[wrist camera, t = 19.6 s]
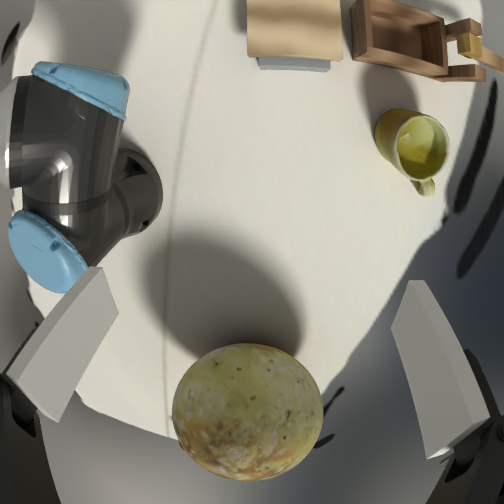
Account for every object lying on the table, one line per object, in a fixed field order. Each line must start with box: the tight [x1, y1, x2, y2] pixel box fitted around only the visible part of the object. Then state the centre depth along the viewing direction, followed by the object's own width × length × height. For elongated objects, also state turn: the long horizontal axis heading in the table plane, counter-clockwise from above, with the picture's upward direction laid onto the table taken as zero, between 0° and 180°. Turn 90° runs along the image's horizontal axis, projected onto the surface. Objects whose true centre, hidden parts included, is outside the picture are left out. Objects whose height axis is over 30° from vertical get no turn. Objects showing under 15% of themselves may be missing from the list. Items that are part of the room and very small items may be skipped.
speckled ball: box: [172, 343, 323, 481], centre depth 48 cm, size 30×30×30 cm
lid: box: [247, 0, 343, 62], centre depth 23 cm, size 12×11×3 cm
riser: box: [258, 57, 330, 72], centre depth 26 cm, size 9×14×4 cm, turn 1°
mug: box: [375, 109, 449, 196], centre depth 32 cm, size 12×10×10 cm
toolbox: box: [350, 0, 486, 82], centre depth 21 cm, size 16×9×12 cm, turn 91°
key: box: [456, 32, 504, 75], centre depth 16 cm, size 12×3×3 cm, turn 91°
